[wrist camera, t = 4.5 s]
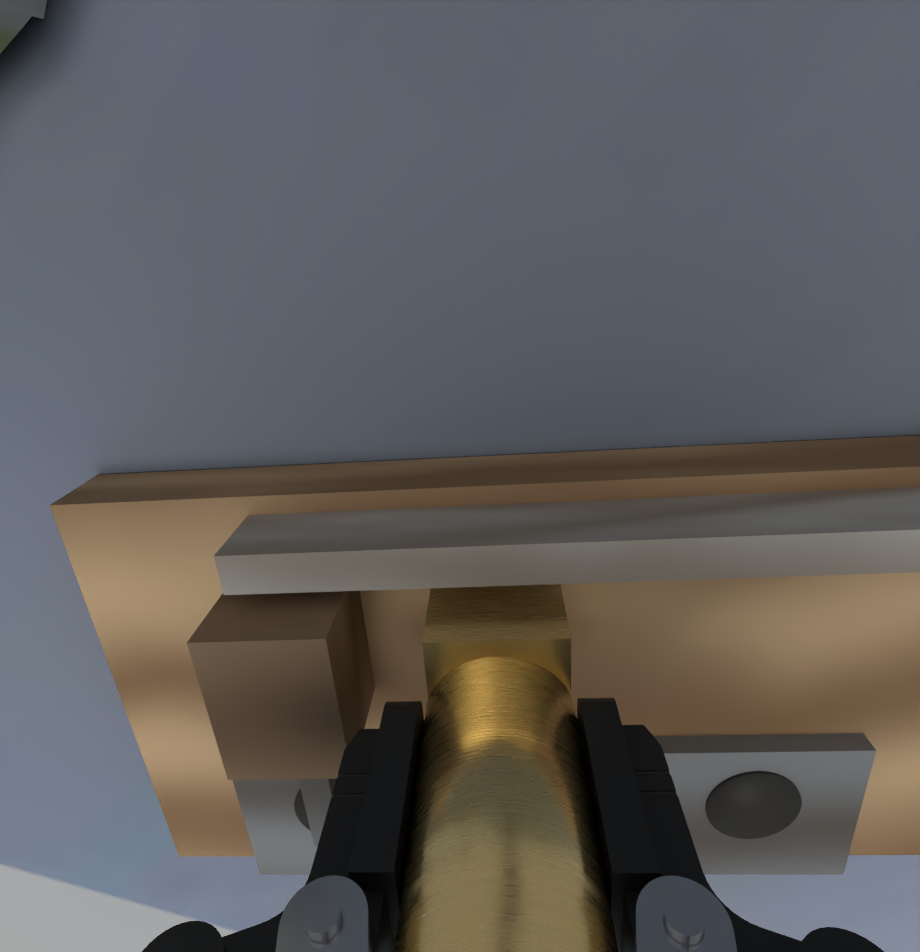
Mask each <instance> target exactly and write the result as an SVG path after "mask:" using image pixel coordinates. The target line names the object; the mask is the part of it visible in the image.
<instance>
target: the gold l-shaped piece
mask: <svg viewBox="0 0 920 952" xmlns="http://www.w3.org/2000/svg"><path fill="white" fill-rule="evenodd" d="M422 648H423V657H424V665H425V674H426V683H427V692H428V701H427V705H426V712H425V720H424V727H423V735H422V743H421V750H420V758H419V765H418V773H417V781H416V788H415V796H414V803H413V811H412V819H411V826H410V834H409V841H408V849H407V857H406V864H405V872H404V880H403V887H402V895H401V902H400V910H399V917H398V925H397V933H396V940H395V948H394V952H619V951H618V946H617V940H616V935H615V929H614V923H613V918H612V912H611V908H610V902H609V897H608V891H607V886H606V880H605V874H604V869H603V863H602V857H601V852H600V846H599V840H598V835H597V829H596V824H595V818H594V812H593V807H592V801H591V795H590V790H589V784H588V779H587V773H586V767H585V762H584V756H583V750H582V745H581V739H580V733H579V728H578V722H577V716H576V710H575V705H574V702H573V699H572V696H571V635H570V630H569V625H568V620H567V615H566V610H565V605H564V600H563V595H562V590H561V584H547V585H516V586H486V587H456V588H431V589H430V596H429V602H428V608H427V614H426V620H425V626H424V633H423V639H422Z"/></svg>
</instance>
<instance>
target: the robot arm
mask: <svg viewBox="0 0 920 952" xmlns="http://www.w3.org/2000/svg"><path fill="white" fill-rule="evenodd" d="M577 722H578V728H579V733H580V739H581V745H582V750H583V756H584V762H585V767H586V773H587V779H588V784H589V790H590V795H591V801H592V807H593V812H594V818H595V824H596V829H597V835H598V840H599V846H600V852H601V857H602V863H603V869H604V874H605V880H606V886H607V891H608V897H609V902H610V908H611V912H612V918H613V923H614V929H615V935H616V940H617V946H618V951H619V952H884V951H882V950H881V949H880V948H879V947H877V946H876V945H875V944H873V943H872V942H870V941H869V940H867V939H866V938H864V937H862V936H860V935H858V934H856V933H853V932H851V931H848V930H845V929H840V928H833V927H825V928H819V929H816V930H814V931H812V932H810V933H809V934H807V935H806V937H805V938H804V939H803V940H802V941H799V940H796V939H793V938H790V937H787V936H784V935H781V934H778V933H775V932H772V931H769V930H766V929H764V928H761V927H758V926H756V925H753V924H751V923H749V922H747V921H746V920H744V919H742V918H740V917H739V916H738V915H736V914H735V913H733V912H732V911H731V910H730V909H729V908H727V907H726V906H725V905H724V904H723V903H722V902H721V901H720V899H719V898H718V897H717V896H716V895H715V893H714V892H713V891H712V889H711V888H710V886H709V884H708V882H707V880H706V878H705V876H704V873H703V870H702V867H701V864H700V861H699V858H698V855H697V852H696V849H695V846H694V843H693V840H692V837H691V834H690V831H689V828H688V825H687V822H686V819H685V816H684V813H683V810H682V807H681V804H680V801H679V798H678V795H677V794H676V789H675V786H674V783H673V780H672V777H671V775H670V773H669V767H668V764H667V761H666V758H665V755H664V752H663V749H662V746H661V745H660V743H659V742H658V741H657V740H656V739H655V737H654V736H653V735H652V734H651V733H650V732H649V730H648V729H647V728H646V727H645V726H644V725H622V723H621V719H620V715H619V712H618V708H617V704H616V701H615V699H614V698H578V700H577ZM423 727H424V715H423V707H422V702H421V701H394V702H386V703H385V705H384V709H383V713H382V718H381V723H380V727H379V729H360V730H359V731H358V732H357V734H356V735H355V736H354V738H353V739H352V740H351V742H350V743H349V744H348V745H347V747H346V748H345V749H344V753H343V757H342V760H341V764H340V767H339V771H338V778H336V782H335V785H334V789H333V796H332V798H331V800H330V804H329V807H328V811H327V814H326V818H325V822H324V825H323V829H322V832H321V836H320V840H319V843H318V847H317V851H316V854H315V858H314V861H313V865H312V869H311V872H310V875H309V878H308V880H307V882H306V884H305V886H304V887H303V888H301V889H300V890H299V891H298V892H297V893H296V894H295V895H294V896H293V897H292V899H291V900H290V901H289V903H288V904H287V906H286V908H285V910H284V911H282V912H281V913H280V914H278V915H277V916H275V917H273V918H272V919H270V920H268V921H266V922H263V923H261V924H258V925H256V926H253V927H250V928H247V929H244V930H241V931H238V932H236V933H233V934H230V935H227V936H224V937H221V935H220V933H219V932H218V931H217V929H216V928H215V927H213V926H212V925H211V924H208V923H206V922H201V921H189V922H185V923H181V924H179V925H176V926H173V927H172V928H170V929H168V930H166V931H165V932H163V933H162V934H160V935H159V936H157V937H156V938H155V939H154V940H153V941H152V942H151V943H150V944H149V945H148V946H147V947H146V948H145V949H144V950H143V951H142V952H394V948H395V940H396V933H397V925H398V917H399V910H400V902H401V895H402V887H403V880H404V872H405V864H406V857H407V849H408V841H409V834H410V826H411V819H412V811H413V803H414V796H415V788H416V781H417V773H418V765H419V758H420V750H421V743H422V735H423Z"/></svg>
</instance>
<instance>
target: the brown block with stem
mask: <svg viewBox="0 0 920 952" xmlns="http://www.w3.org/2000/svg"><path fill="white" fill-rule="evenodd" d="M187 646H188V649H189V652H190V656H191V659H192V662H193V666H194V669H195V672H196V676H197V679H198V682H199V686H200V689H201V692H202V696H203V699H204V702H205V706H206V709H207V712H208V716H209V719H210V722H211V726H212V729H213V732H214V735H215V739H216V742H217V745H218V749H219V752H220V755H221V759H222V762H223V765H224V769H225V772H226V775H227V779H228V780H266V779H298V780H299V784H300V788H301V792H302V796H303V801H304V805H305V809H306V813H307V817H308V822H309V826H310V830H311V834H312V838H313V843H314V846H318V843H319V840H320V836H321V832H322V829H323V825H324V822H325V818H326V814H327V811H328V807H329V804H330V800H331V798H332V796H333V789H334V785H335V782H336V778H338V771H339V767H340V764H341V760H342V757H343V753H344V749H345V748H346V747H347V745H348V744H349V743H350V742H351V740H352V739H353V738H354V736H355V735H356V734H357V732H358V731H359V730H360V729H365V725H366V721H367V717H368V713H369V709H370V705H371V701H372V697H373V693H374V689H375V684H374V678H373V671H372V665H371V659H370V652H369V646H368V640H367V633H366V627H365V620H364V614H363V608H362V601H361V595H360V591H335V592H304V593H274V594H244V595H224V594H222V595H221V596H220V598H219V599H218V600H217V602H216V603H215V605H214V606H213V607H212V609H211V610H210V611H209V613H208V614H207V616H206V617H205V618H204V620H203V621H202V622H201V624H200V625H199V627H198V628H197V629H196V631H195V632H194V633H193V635H192V636H191V638H190V639H189V640H188V642H187Z"/></svg>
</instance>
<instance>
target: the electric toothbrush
mask: <svg viewBox="0 0 920 952" xmlns="http://www.w3.org/2000/svg"><path fill="white" fill-rule="evenodd" d="M46 3H47V0H0V54H1V53H2V51H3V50H4V49H5V48H6V47H7V45H8V44H9V43H10V42H11V41H12V40H13V38H14V37H15V36H16V35H17V34H18V32H19V31H20V30H21V29H22V28H23V27H24V25H25V24H26V23H27V22H28V21H29V19H30V18H31V17H32V16H33V17H37V18H41V19H44V15H45V9H46Z"/></svg>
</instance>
